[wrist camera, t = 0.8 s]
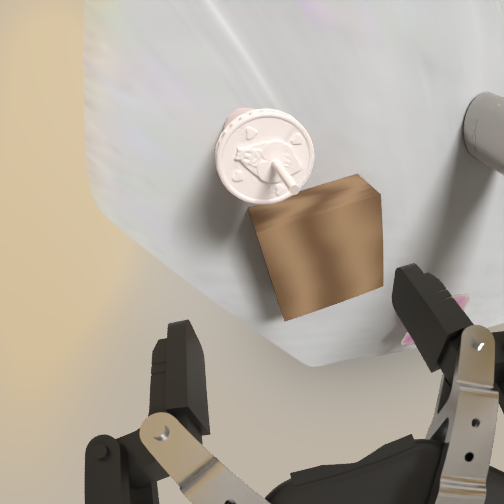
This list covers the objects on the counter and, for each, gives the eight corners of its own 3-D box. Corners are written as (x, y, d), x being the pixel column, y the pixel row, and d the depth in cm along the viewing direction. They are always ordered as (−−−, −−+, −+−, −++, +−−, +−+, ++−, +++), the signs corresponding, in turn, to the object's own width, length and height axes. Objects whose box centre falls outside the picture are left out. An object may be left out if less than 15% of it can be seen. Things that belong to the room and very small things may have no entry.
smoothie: (268, 166, 30) (317, 248, 19) (201, 153, 28) (208, 231, 17) (288, 103, 27) (359, 146, 15) (218, 85, 25) (239, 111, 14)
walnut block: (357, 174, 32) (380, 194, 28) (365, 260, 39) (383, 286, 35) (247, 208, 32) (256, 234, 28) (275, 291, 39) (284, 321, 35)
